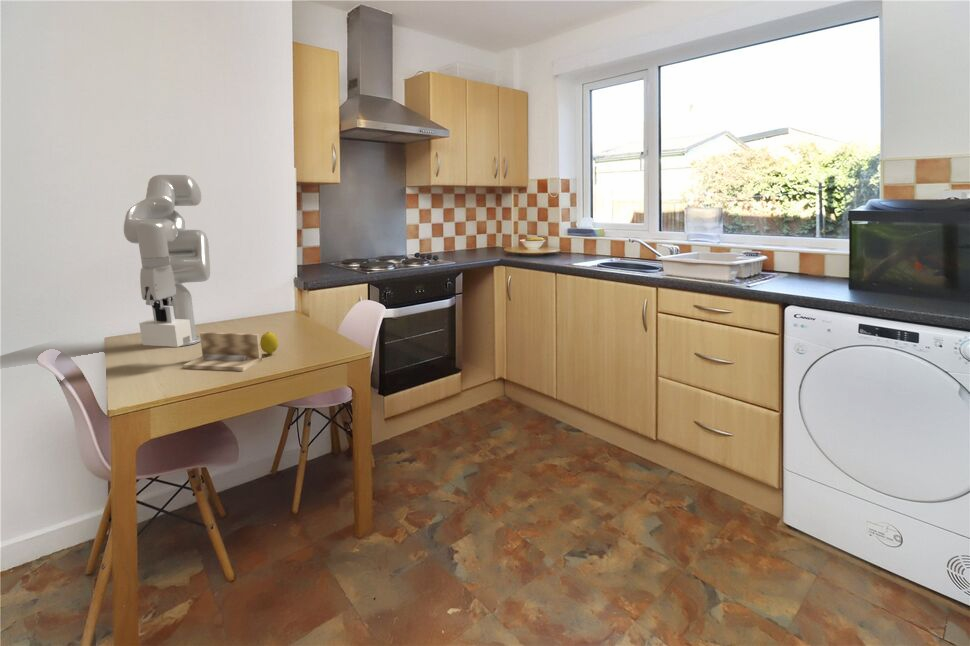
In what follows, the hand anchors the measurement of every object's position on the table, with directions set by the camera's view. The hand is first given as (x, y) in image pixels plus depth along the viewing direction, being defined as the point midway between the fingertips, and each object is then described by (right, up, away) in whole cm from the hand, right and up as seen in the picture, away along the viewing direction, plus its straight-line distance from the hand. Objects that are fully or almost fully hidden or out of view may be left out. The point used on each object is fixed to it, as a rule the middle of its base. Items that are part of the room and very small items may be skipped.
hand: (164, 319), depth 172 cm
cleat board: (+18, -14, +3) cm, 23 cm away
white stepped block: (0, -7, +2) cm, 8 cm away
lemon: (+28, -12, +14) cm, 33 cm away
